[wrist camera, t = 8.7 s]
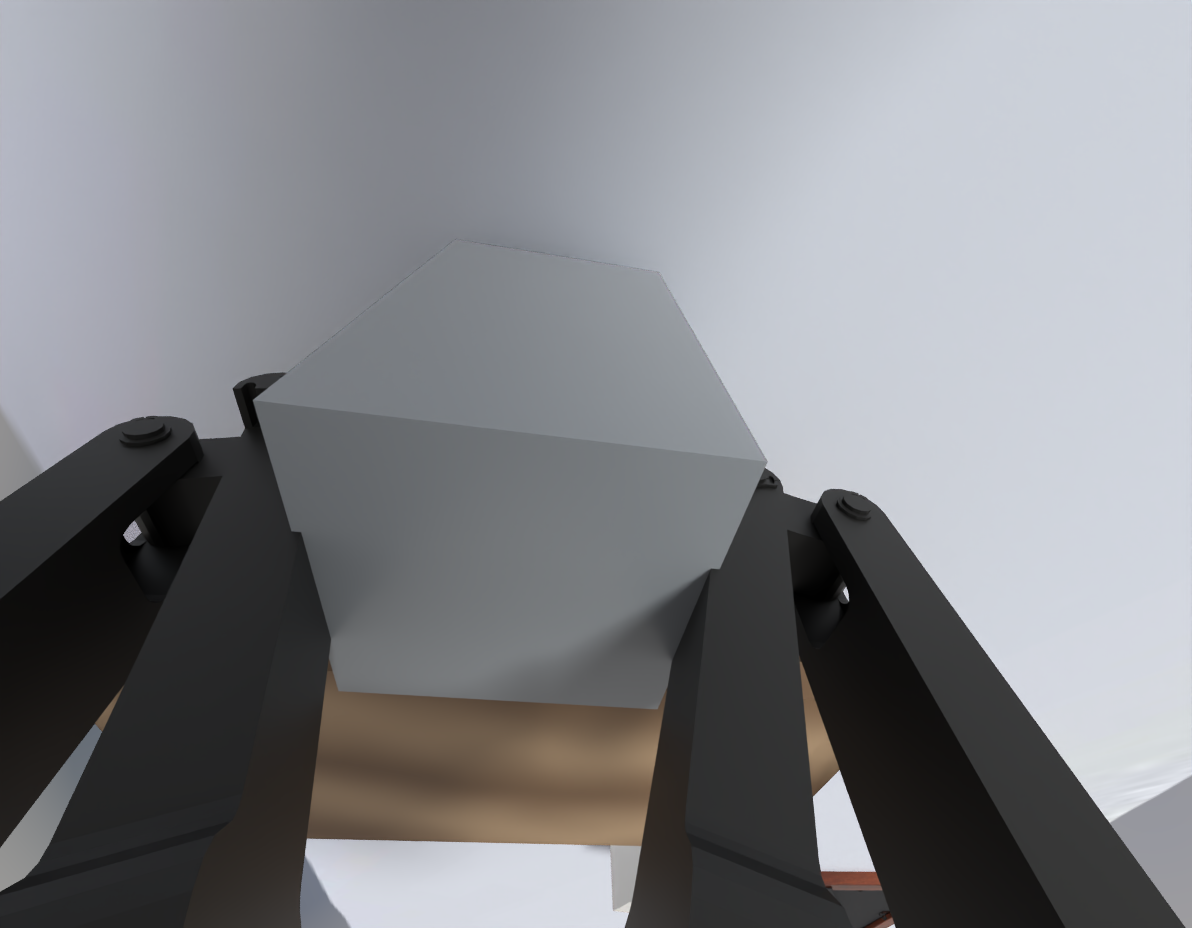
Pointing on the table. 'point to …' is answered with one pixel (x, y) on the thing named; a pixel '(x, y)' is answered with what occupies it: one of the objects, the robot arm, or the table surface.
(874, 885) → the picture frame
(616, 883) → the white cube
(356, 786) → the riser shelf
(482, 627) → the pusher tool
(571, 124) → the table surface
